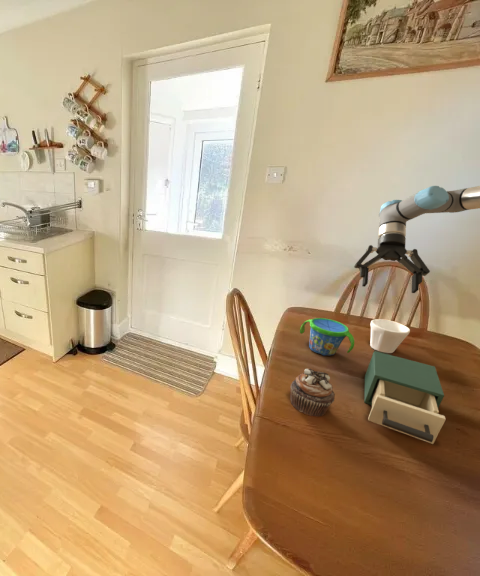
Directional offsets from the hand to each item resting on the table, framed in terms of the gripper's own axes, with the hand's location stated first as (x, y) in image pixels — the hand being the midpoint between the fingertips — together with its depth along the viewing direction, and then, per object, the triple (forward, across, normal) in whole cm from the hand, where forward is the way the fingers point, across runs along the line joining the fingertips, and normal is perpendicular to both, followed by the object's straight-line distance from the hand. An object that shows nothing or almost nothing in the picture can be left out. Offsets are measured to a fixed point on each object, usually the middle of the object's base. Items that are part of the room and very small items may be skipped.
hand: (389, 288), depth 110 cm
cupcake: (+52, +24, +25) cm, 63 cm away
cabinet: (+42, +3, +15) cm, 45 cm away
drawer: (+50, +5, +24) cm, 55 cm away
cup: (+21, -1, -6) cm, 22 cm away
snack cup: (+29, +18, +2) cm, 34 cm away
